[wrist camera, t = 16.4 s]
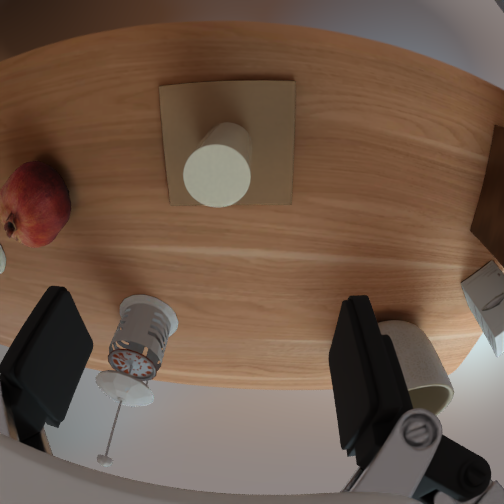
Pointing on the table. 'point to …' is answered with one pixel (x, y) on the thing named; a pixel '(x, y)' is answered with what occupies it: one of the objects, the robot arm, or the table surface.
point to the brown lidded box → (492, 201)
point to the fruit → (34, 204)
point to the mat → (239, 112)
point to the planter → (419, 366)
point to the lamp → (2, 260)
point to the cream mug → (220, 166)
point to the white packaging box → (488, 303)
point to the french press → (136, 354)
